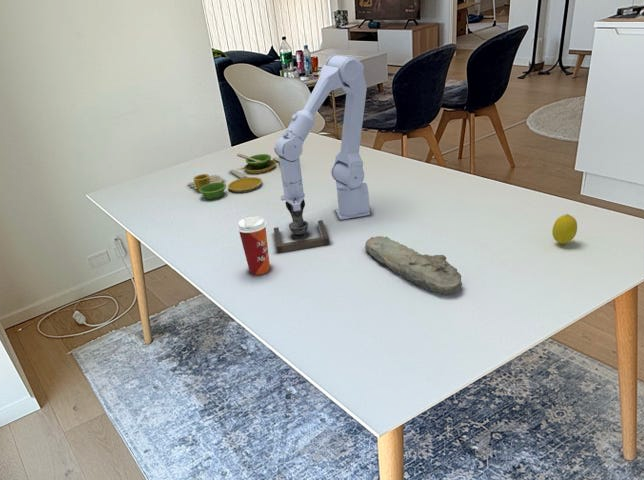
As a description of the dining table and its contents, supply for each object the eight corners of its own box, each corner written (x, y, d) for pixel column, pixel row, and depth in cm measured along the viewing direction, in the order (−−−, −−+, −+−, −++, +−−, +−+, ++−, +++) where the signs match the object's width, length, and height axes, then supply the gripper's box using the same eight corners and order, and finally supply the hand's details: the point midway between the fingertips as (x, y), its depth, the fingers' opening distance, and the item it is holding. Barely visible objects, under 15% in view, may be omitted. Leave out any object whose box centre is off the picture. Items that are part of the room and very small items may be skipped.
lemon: (573, 239, 144) (579, 209, 140) (574, 249, 140) (580, 219, 136) (550, 239, 146) (554, 209, 142) (550, 248, 142) (555, 218, 137)
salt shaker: (289, 233, 171) (283, 195, 164) (308, 230, 171) (303, 191, 164) (291, 241, 166) (285, 202, 159) (310, 238, 166) (306, 199, 159)
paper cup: (270, 276, 151) (261, 227, 142) (242, 277, 152) (232, 228, 144) (276, 262, 157) (268, 214, 148) (250, 263, 158) (240, 216, 150)
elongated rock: (386, 244, 159) (356, 258, 156) (384, 227, 156) (353, 240, 153) (475, 286, 132) (441, 302, 129) (474, 265, 129) (439, 282, 126)
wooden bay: (323, 226, 172) (322, 219, 171) (329, 244, 161) (328, 238, 160) (274, 233, 172) (273, 227, 171) (277, 253, 161) (276, 246, 160)
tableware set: (278, 158, 232) (276, 142, 228) (310, 174, 211) (308, 157, 207) (183, 185, 221) (179, 169, 217) (207, 205, 200) (203, 187, 196)
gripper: (276, 174, 168) (283, 217, 176) (280, 191, 157) (286, 236, 165) (300, 170, 168) (305, 214, 176) (305, 187, 157) (310, 232, 165)
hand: (298, 224), depth 171 cm, fingers closed
